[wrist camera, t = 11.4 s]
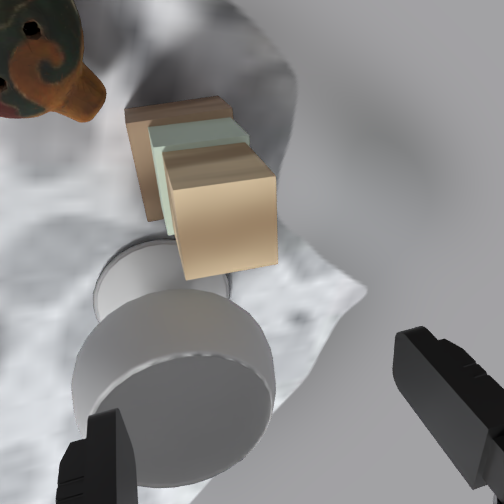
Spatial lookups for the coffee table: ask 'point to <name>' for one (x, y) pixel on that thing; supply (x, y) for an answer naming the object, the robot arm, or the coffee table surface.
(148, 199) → the tower slab
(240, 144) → the oak block
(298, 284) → the coffee table surface
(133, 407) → the chalice
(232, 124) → the tower cube
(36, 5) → the decorative turtle
